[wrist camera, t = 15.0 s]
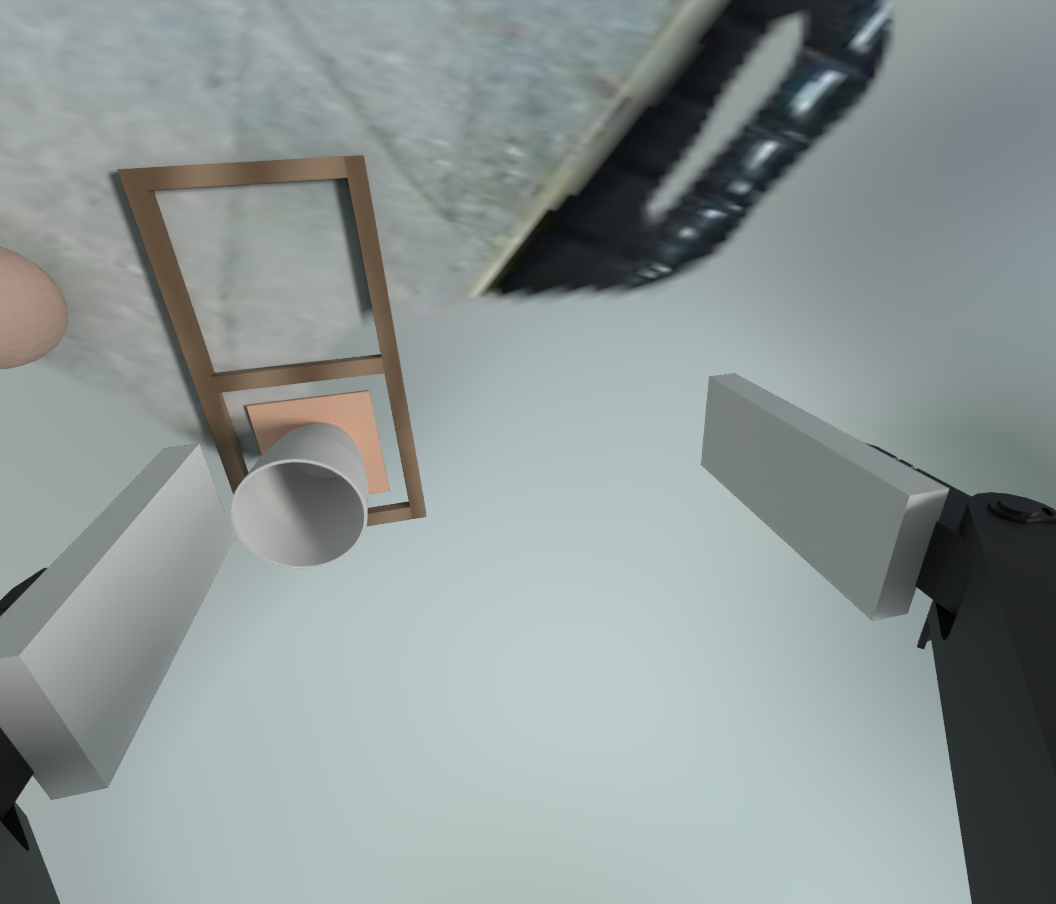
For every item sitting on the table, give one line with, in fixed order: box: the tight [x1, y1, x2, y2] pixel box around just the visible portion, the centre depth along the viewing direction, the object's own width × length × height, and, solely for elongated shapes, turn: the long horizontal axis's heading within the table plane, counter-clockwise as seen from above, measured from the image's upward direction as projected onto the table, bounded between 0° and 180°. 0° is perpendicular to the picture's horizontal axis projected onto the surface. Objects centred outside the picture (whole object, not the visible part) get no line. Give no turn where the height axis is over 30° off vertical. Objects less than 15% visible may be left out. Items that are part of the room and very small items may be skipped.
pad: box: [246, 390, 389, 494], centre depth 43 cm, size 9×9×1 cm
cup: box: [231, 422, 368, 569], centre depth 38 cm, size 8×8×10 cm
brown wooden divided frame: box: [117, 155, 426, 526], centre depth 40 cm, size 14×28×1 cm, turn 4°
